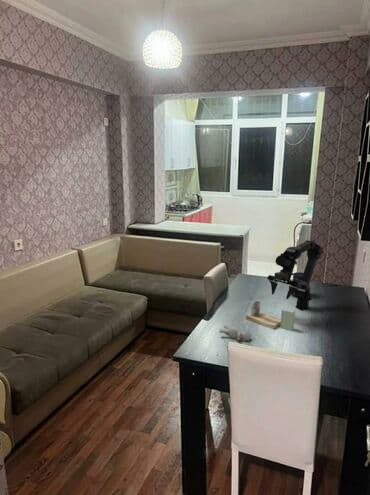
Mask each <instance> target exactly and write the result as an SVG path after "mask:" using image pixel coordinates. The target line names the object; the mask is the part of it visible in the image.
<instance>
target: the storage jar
mask: <svg viewBox="0 0 370 495" xmlns="http://www.w3.org/2000/svg"><path fill="white" fill-rule="evenodd" d="M303 273H304V272H301V271H297V272H293V275H292V280H291V281H295V282H298V283H300V282H301V280H302V277H303ZM291 297H292V298H295V299H297V298H296V297H295V293H293V294H292V295H291Z"/></svg>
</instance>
